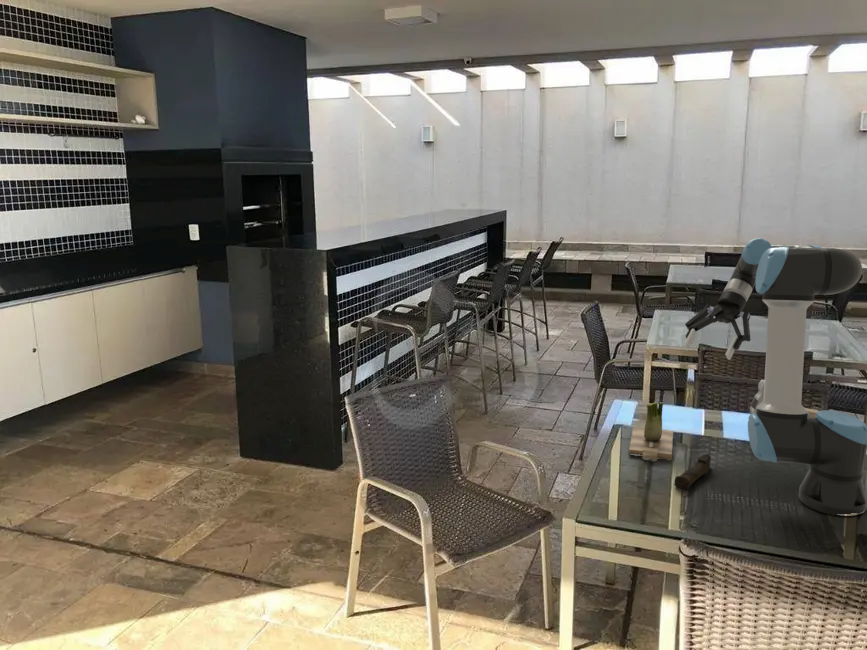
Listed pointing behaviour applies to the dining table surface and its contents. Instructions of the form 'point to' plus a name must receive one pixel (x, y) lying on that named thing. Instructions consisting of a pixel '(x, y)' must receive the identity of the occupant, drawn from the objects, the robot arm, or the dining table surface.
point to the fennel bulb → (653, 422)
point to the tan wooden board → (651, 445)
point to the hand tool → (693, 473)
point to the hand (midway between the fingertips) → (706, 352)
